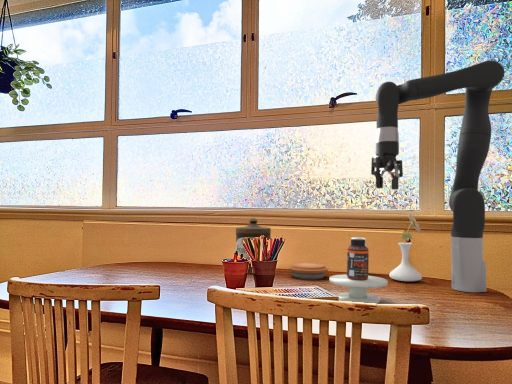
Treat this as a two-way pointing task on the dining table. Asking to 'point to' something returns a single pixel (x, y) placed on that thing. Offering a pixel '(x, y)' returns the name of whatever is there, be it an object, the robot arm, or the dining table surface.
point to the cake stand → (358, 288)
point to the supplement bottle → (357, 260)
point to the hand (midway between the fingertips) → (387, 188)
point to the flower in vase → (406, 259)
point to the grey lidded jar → (250, 232)
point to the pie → (308, 270)
